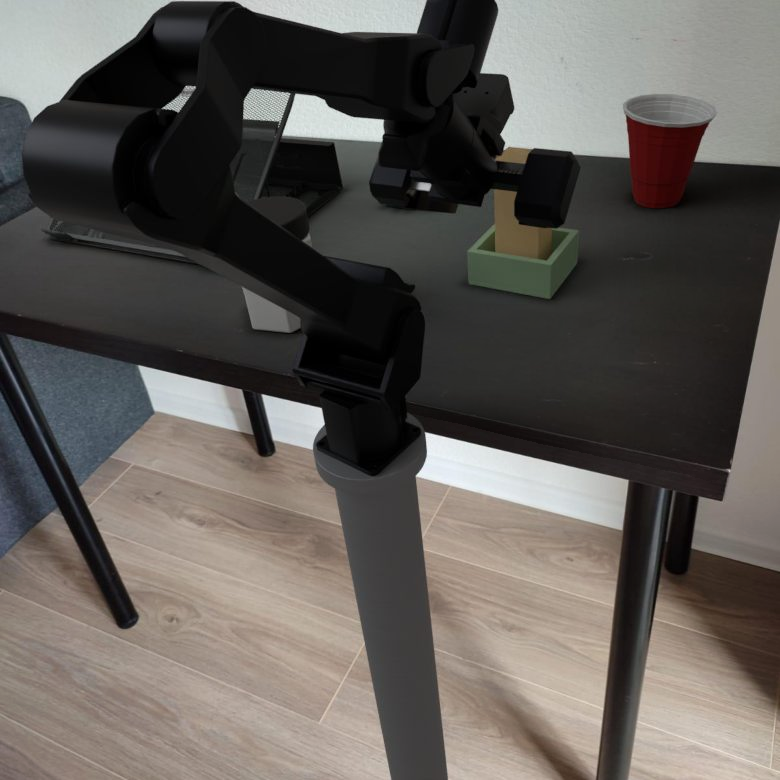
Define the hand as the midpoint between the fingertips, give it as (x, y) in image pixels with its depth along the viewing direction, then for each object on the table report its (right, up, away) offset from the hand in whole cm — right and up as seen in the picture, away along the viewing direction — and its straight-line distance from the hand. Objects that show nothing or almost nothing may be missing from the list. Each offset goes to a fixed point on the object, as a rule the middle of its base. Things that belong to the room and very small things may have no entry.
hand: (497, 214), depth 77 cm
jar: (-22, -9, +9) cm, 25 cm away
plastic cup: (+24, +7, +23) cm, 34 cm away
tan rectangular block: (+4, -4, +10) cm, 12 cm away
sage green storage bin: (+4, -4, +11) cm, 12 cm away
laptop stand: (-38, +7, +33) cm, 51 cm away
